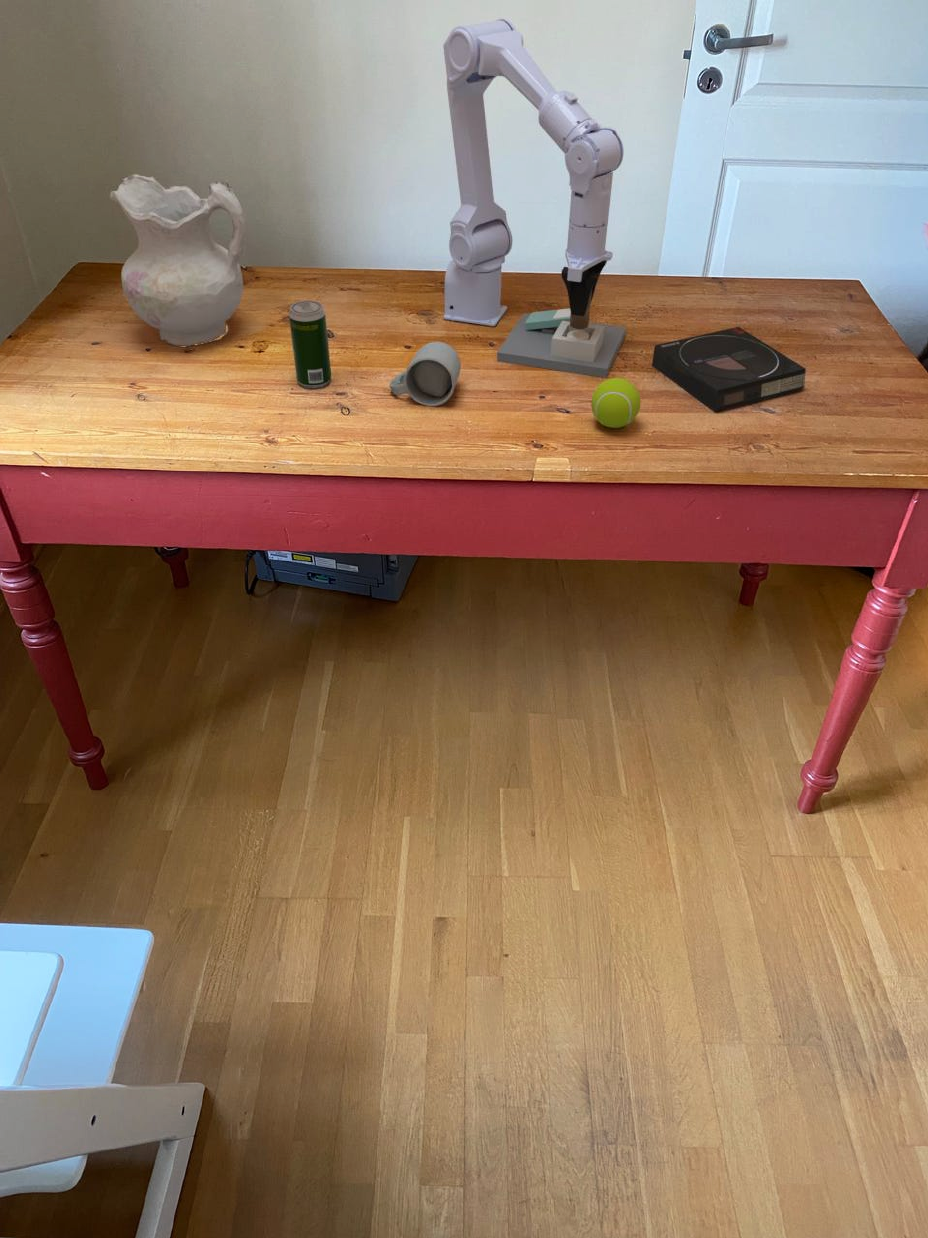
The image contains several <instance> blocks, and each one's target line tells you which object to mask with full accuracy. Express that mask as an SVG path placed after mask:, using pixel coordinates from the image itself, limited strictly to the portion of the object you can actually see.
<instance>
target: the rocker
mask: <svg viewBox="0 0 928 1238" xmlns="http://www.w3.org/2000/svg"><path fill="white" fill-rule="evenodd" d="M529 314H530V316H529V317H528V319H527V320H526V322H525V327H526V330H531V329H541V328H551V327H559V325H560V324H561V322H562V321H569V322H570V314H571V311H570V307H569V308H562V309H561V308H560V309H551V310H543V311H533V312H532V311H531V313H529Z"/></svg>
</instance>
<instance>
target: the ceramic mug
mask: <svg viewBox="0 0 928 1238" xmlns="http://www.w3.org/2000/svg"><path fill="white" fill-rule="evenodd" d="M460 373H461V359H460V357H459V354H458V353H457V351H456V349H455V348H454V347H452V346H451V345H450V344H448V343H446V342H443V341H430V342H429V343H426V344H424V345H423V346H422V347H420V348H419V350H417V352H416V353H415V355H414V357H413V359H412V360H411V362H410V363H409V365H407V368H406V370H405V371H403V372H401V373H399V374H398V375H396V376H395V377H394V378H393V379H392V380H391V381H390V383H389V388H390V390H391V392H392V394H393V395H395V396H401V395H405V394H408V395H409V397H410V398H411V399H413V401H414V402H416V403H418V404H419V405H423V406H426V407H437V406H440V405H443V404H445V403H446V402H447V401H449V399H451V397H452V396H453V394H454V391H455V387H456V385H457V382H458V379H459V377H460Z"/></svg>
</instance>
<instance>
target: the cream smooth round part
mask: <svg viewBox="0 0 928 1238" xmlns="http://www.w3.org/2000/svg"><path fill="white" fill-rule="evenodd" d="M567 337H570V338H577V339H584V340H589V334H588V333H587V332H585V331H581V330H573V331H570V332H568V333H567Z"/></svg>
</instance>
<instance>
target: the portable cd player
mask: <svg viewBox="0 0 928 1238" xmlns="http://www.w3.org/2000/svg"><path fill="white" fill-rule="evenodd" d="M652 356H653V357H652V363H651V366H652V368H654V369H655V370H657V371H658V372H659V373H661V374H662V375H663V376H665V377H666V378H668V379H669V380H670V381H672V382H673V383H674V384H676V386H678V387H679V388H680V389H682V390H683V391H685V392H686V393H688V395H690V396H691V397H692V398H694V399H696V400H697V401H698V402H700V403H701V404H702V405H704V407H707V408H708V409H709V410H711V412H713V413H718V412H722V411H725V410H729V409H730V410H731V409H734V408H737V407H741V406H745V405H749V404H752V403H757V402H761V401H765V400H768V399H773V398H776V397H781V396H785V395H788V394H791V393H796V392H801V391H802V390H803V389H804V388H805V383H806V382H805V381H806V370H807V369H806V368H805V367H804V366H802V365H801V364H799V363H797V362H796V361H794V360H793V359H791V358H790V357H788V356H787V355H784V353H782V352H780V351H779V350H777V349H775V348H773V347H772V346H771V345H769V344H767V343H766V342H764V341H762V340H760V339H759V338H757V337H756V336H755V335H752V334H751V333H749V332H748V331H746V330H745V329H743V328H741V327H740V326H735V327H731V328H727V329H723V330H718V331H712V332H709V333H704V334H699V335H695V336H691V337H687V338H682V339H677V340H673V341H667V342H664V343H659V344H655V345H654V348H653V355H652Z"/></svg>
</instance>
